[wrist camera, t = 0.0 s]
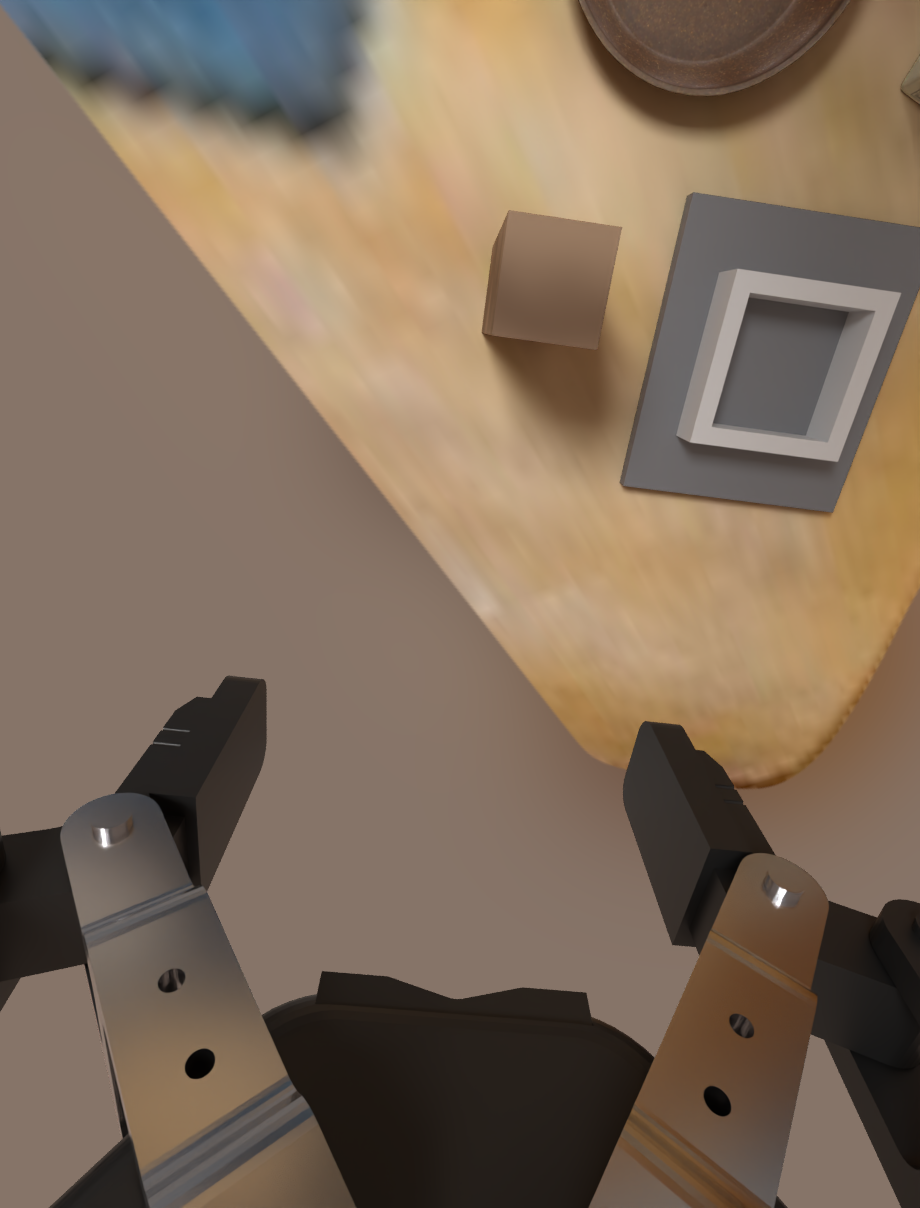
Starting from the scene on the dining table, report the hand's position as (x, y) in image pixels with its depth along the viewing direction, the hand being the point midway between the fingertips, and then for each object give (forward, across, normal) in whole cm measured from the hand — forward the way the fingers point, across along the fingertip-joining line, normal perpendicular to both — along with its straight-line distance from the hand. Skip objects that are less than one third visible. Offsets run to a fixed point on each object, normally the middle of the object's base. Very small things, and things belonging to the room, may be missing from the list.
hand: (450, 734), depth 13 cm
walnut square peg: (+29, -3, -10) cm, 31 cm away
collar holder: (+29, -18, -8) cm, 35 cm away
